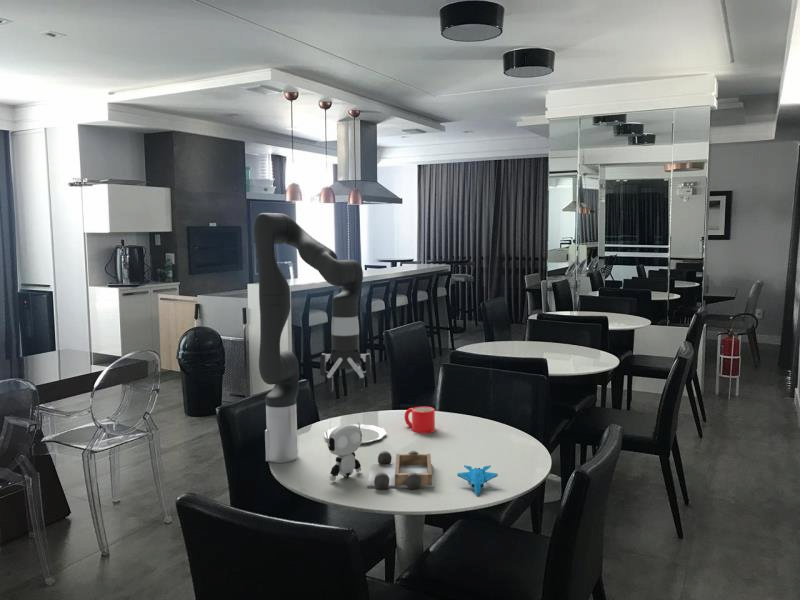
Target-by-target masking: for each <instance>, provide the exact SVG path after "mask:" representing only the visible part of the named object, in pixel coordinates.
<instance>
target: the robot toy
mask: <svg viewBox="0 0 800 600" xmlns="http://www.w3.org/2000/svg"><path fill="white" fill-rule="evenodd" d="M357 424H358V425H359V427H357V426H354V425H355V424H341V425H339V426H336V427H337V428H336V429H334V430H333V431H332V432H331V434H330V436H329V439H328V435H327V431H328V430H326V431H325V432H326V436H327V439H326V441H327V448H328V451H330V453H331V454H333V455H335V456H336V457H335V459H334V460H335V464H334V465H333V466H332V467H331V470H330V475H331V476H329V477H330V478H329V480H330V482H331V481H332V482H335V481H336V479H337V477H338V476H339V475H341V476H342V477H343V478H349V477H350V476H351V475H352V474H353V473H354V470H355V472H356V473H360V472H361V471H362V465H361V463H360V461H359V460H358V459H357V458H356V453H355V452H356V451H357V450H358V449H359V448H360V447H361V445H362V444H361V442H363V440H362V438H363V434H362V429H360V421H358V423H357Z"/></svg>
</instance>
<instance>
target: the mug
mask: <svg viewBox="0 0 800 600" xmlns="http://www.w3.org/2000/svg"><path fill="white" fill-rule="evenodd" d="M435 412H436V411H435V408H434V407H432V406H414V407H410V408H408V409H407V410H406V411H405V413H404V421H405V423H406V425H407V426H408V427H409V428H411V430H412V431H413V432H414V433H416V434H417V433H418V434H430V433H432V432H435V430H436V422H435V421H436V420H435V419H436V415H435V414H436V413H435ZM410 413H411V421H410V418H409V415H410Z"/></svg>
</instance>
